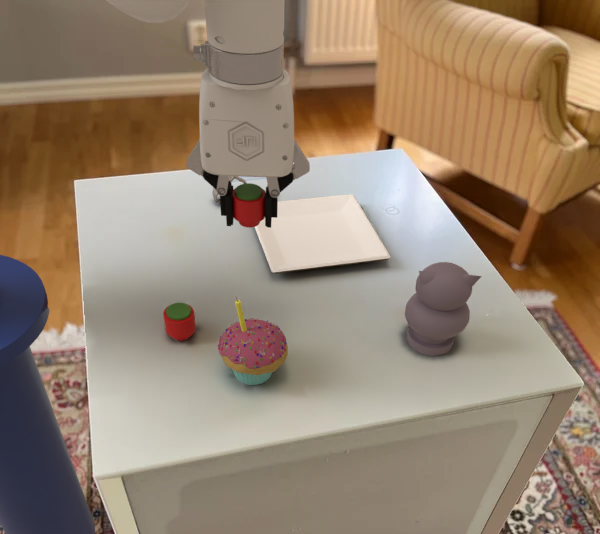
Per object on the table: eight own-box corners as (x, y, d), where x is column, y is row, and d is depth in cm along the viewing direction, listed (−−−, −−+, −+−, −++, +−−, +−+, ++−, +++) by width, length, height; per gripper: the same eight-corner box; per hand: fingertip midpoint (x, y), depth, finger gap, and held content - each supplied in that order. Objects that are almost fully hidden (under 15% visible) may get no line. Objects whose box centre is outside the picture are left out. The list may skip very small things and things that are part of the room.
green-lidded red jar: (173, 348, 84) (170, 324, 81) (161, 330, 86) (157, 306, 83) (201, 338, 86) (199, 314, 82) (188, 321, 88) (186, 297, 85)
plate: (352, 203, 110) (353, 192, 109) (389, 267, 98) (391, 256, 97) (246, 214, 106) (245, 203, 105) (271, 282, 94) (272, 271, 93)
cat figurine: (456, 322, 90) (478, 251, 81) (465, 361, 85) (489, 289, 76) (397, 319, 90) (412, 247, 81) (401, 357, 85) (418, 285, 76)
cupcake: (213, 390, 79) (207, 317, 70) (227, 344, 85) (224, 271, 76) (281, 400, 79) (284, 327, 70) (291, 353, 84) (295, 280, 76)
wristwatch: (210, 199, 109) (208, 172, 105) (243, 192, 111) (242, 165, 107) (218, 209, 107) (216, 182, 103) (251, 202, 109) (251, 174, 105)
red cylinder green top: (231, 230, 76) (230, 198, 73) (234, 212, 79) (232, 180, 75) (265, 231, 76) (265, 200, 73) (266, 213, 79) (266, 182, 76)
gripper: (156, 71, 61) (176, 236, 75) (330, 78, 61) (319, 240, 75) (167, 43, 66) (184, 201, 80) (328, 49, 66) (317, 206, 80)
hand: (249, 219), depth 77 cm, fingers closed on red cylinder green top, 4 cm apart
